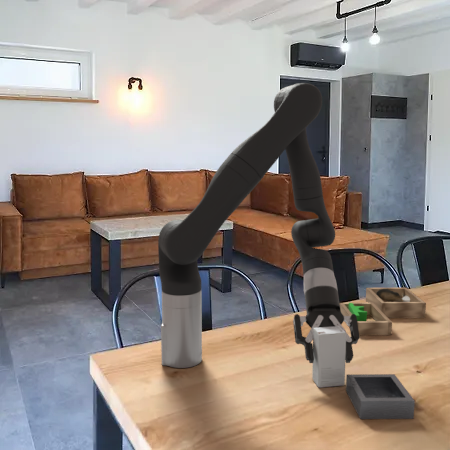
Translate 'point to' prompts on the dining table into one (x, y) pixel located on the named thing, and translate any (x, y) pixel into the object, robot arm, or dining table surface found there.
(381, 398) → the keeper tray
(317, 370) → the skincare box
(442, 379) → the dining table surface
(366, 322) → the tray
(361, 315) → the green notched block
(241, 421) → the dining table surface
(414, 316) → the figurine corral
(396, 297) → the eagle figurine
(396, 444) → the dining table surface
